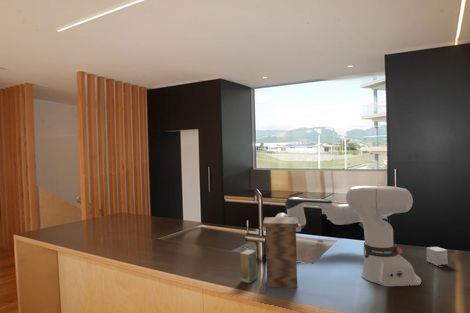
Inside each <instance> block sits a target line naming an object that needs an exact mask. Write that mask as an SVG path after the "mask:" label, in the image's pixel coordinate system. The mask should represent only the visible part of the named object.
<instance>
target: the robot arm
mask: <svg viewBox="0 0 470 313" xmlns="http://www.w3.org/2000/svg"><path fill="white" fill-rule="evenodd" d="M345 194H346V195H345V201H346V203H341V204H340V203H335V202H333V201H332V200H331V199H325V198H311V197H297V196H292V197H288V198H287V199H286V200H285V203H284V206H285V209H286V213H285V212H278V213H277V214H276V215H275V217H297V219H298V226H299V227H296V233H300V232H301V231H302V229H304V228H305V226H306V225H307V219H306V214H305V210H304V209H305V208H304V206H307V207H309V206H310V207H311V206H312V207H318V208H321V210H323V212H324V214H325V215H326V217H327V218H328V220H329V221H330V222H331V223H333V224H334V225H350V224H353V223H354V224H355V223H358V222H360V223H358V226H360V228H362V229H363V233H364V234H363V235H364V243H363V256H364V258H363V260H364V261H363V267H362V271H361V277H362V278H363V279H364V280H366V281H368V282H372V283H375V284H379V285H381V286H384V287H406V286H407V287H409V285H410V286H421V285H422V284H421V282H422V279H421V278H420V276H418V275H417V274H416V272H415V269H414V267H413V265H412V264H411V263H410V262H409V261H408V260H406V259H405V258H404V257H402V256H401V255H400V254H402V253H403V249H402V248H400V247H398V246H396V245H395V244H394V228H393V227H392V225H391V224H390V223H389V222H387V220H384V219H383V218H382V217H389V216H392V215H393V214H401V213H407V212H409V211H410V210H411V208H412V207H413V204H414V200H413V195H412V193H411V192H410V190H408V189H407V188H405V187H398V186H393V185H392V186H390V185H389V186H381V185H357V186H356V185H355V186H351V187H350V188H348V190H347V191H346V193H345ZM262 231H263V232H266V227H263V226H262ZM420 284H421V285H420Z"/></svg>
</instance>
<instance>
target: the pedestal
mask: <svg viewBox="0 0 470 313" xmlns="http://www.w3.org/2000/svg"><path fill="white" fill-rule="evenodd" d="M263 227H266V231H265V244H266V245H265V246H266V247H265V250H266V251H265V252H266V259H265V260H266V286H267V288H286V289H287V288H289V289H298V266H297V265H298V261H297V232H296V227H299V226H298V219H297V217H276V216H274V217H273V216H272V217H270V216H269V217H268V216H265V217H264V219H263V222H262V228H263Z"/></svg>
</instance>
